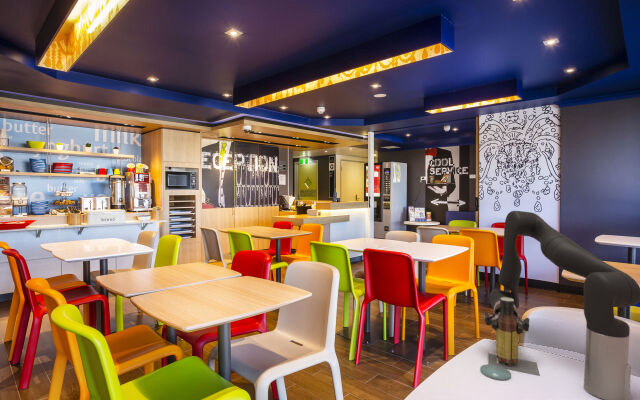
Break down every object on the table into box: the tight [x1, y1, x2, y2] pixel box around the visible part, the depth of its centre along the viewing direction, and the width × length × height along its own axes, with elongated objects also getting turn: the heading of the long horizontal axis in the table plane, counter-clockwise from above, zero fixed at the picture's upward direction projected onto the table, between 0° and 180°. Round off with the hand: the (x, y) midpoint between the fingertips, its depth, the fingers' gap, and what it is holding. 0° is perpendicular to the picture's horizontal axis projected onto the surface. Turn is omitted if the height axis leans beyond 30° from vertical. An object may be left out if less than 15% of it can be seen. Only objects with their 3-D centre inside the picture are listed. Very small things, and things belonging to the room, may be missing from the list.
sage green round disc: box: [479, 364, 512, 381], centre depth 109 cm, size 8×8×1 cm
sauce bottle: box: [495, 297, 519, 364], centre depth 116 cm, size 7×6×20 cm
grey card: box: [487, 353, 541, 377], centre depth 115 cm, size 14×9×1 cm, turn 65°
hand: (507, 329), depth 113 cm, fingers closed on sauce bottle, 6 cm apart
